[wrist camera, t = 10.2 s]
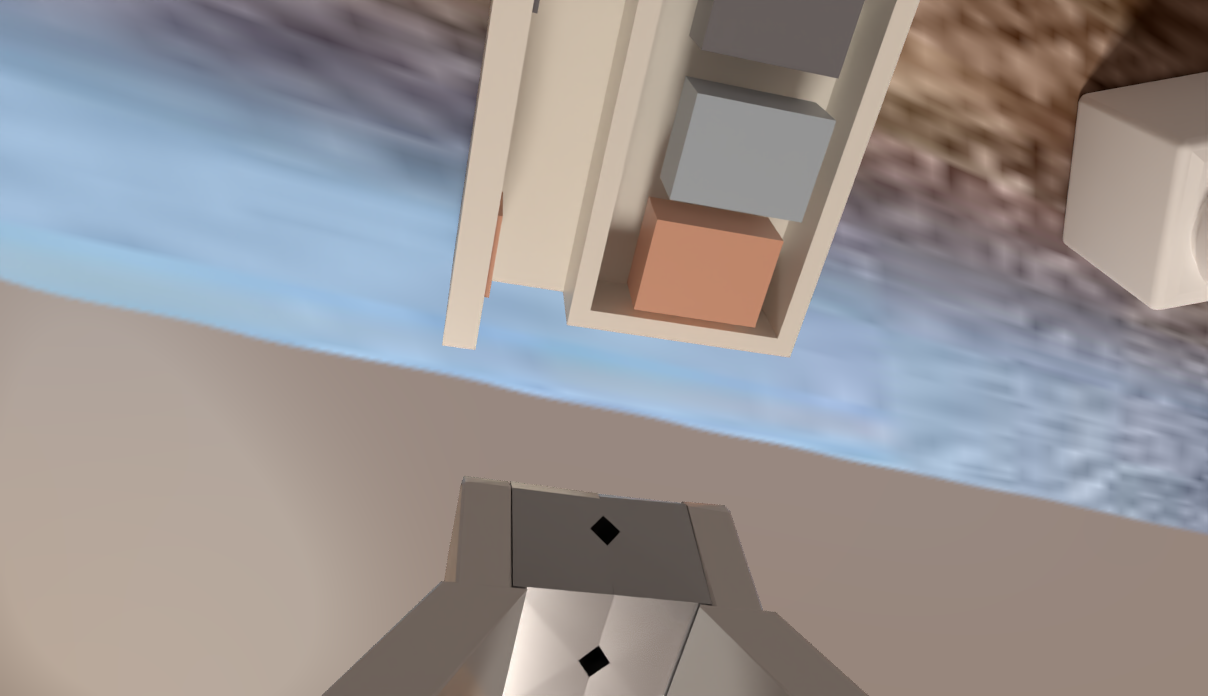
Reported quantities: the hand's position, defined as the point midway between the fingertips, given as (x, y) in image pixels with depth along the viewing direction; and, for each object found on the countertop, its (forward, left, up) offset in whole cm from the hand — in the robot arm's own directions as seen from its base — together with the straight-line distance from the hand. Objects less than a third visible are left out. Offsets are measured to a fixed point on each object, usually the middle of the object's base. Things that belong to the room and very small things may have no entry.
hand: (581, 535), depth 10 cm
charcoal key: (+8, +3, -26) cm, 27 cm away
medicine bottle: (+28, 0, -29) cm, 41 cm away
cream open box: (+6, -1, -29) cm, 30 cm away
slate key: (+8, -1, -25) cm, 26 cm away
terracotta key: (+8, -7, -26) cm, 28 cm away
